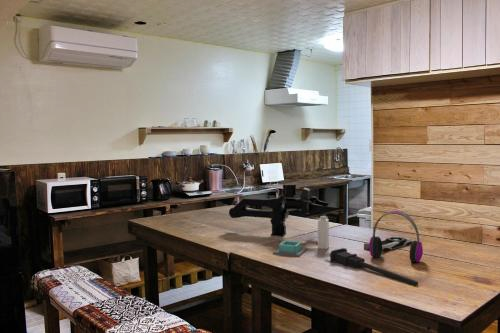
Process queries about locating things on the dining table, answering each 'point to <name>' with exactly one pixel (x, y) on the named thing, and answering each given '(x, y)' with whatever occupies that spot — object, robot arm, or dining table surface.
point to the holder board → (290, 249)
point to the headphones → (415, 246)
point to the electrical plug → (363, 264)
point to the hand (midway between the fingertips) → (326, 205)
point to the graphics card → (392, 243)
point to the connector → (323, 232)
